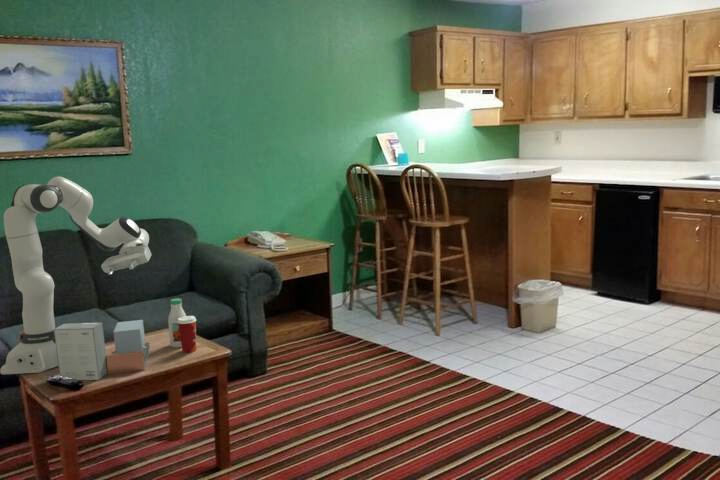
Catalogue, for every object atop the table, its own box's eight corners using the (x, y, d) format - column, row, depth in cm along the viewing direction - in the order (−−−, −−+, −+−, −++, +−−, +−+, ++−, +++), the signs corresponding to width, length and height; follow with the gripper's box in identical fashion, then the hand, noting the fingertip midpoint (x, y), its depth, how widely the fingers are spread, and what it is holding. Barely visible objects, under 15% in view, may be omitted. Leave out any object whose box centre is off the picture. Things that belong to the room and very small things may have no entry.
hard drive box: (109, 373, 247) (103, 322, 244) (99, 380, 240) (93, 328, 237) (70, 373, 249) (64, 322, 246) (59, 380, 242) (52, 328, 238)
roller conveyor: (108, 374, 246) (106, 356, 245) (117, 350, 274) (115, 334, 272) (144, 369, 249) (142, 352, 248) (149, 346, 276) (148, 331, 275)
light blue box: (115, 353, 259) (113, 331, 257) (119, 343, 272) (117, 322, 271) (142, 350, 261) (140, 329, 259) (144, 340, 274) (142, 319, 273)
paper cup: (201, 351, 268) (198, 318, 266) (183, 355, 264) (180, 321, 262) (194, 346, 275) (192, 314, 272) (177, 350, 271) (174, 317, 268)
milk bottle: (167, 348, 274) (163, 301, 271) (175, 342, 282) (171, 297, 278) (184, 348, 273) (180, 301, 270) (192, 342, 280) (188, 297, 277)
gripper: (105, 253, 279) (93, 270, 267) (149, 241, 277) (139, 258, 265) (111, 265, 282) (100, 282, 270) (155, 254, 280) (145, 271, 267)
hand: (120, 270), depth 267 cm, fingers open, 8 cm apart
